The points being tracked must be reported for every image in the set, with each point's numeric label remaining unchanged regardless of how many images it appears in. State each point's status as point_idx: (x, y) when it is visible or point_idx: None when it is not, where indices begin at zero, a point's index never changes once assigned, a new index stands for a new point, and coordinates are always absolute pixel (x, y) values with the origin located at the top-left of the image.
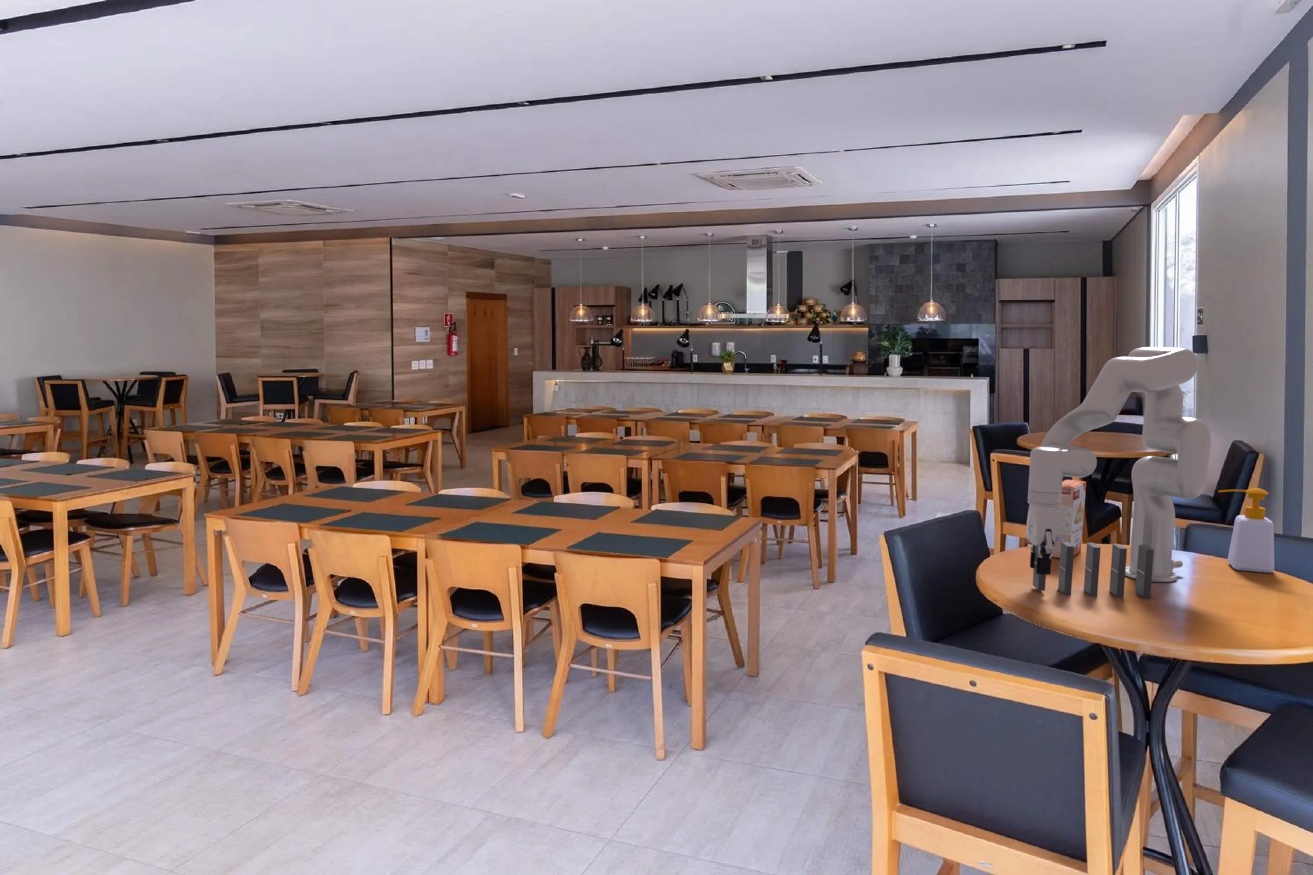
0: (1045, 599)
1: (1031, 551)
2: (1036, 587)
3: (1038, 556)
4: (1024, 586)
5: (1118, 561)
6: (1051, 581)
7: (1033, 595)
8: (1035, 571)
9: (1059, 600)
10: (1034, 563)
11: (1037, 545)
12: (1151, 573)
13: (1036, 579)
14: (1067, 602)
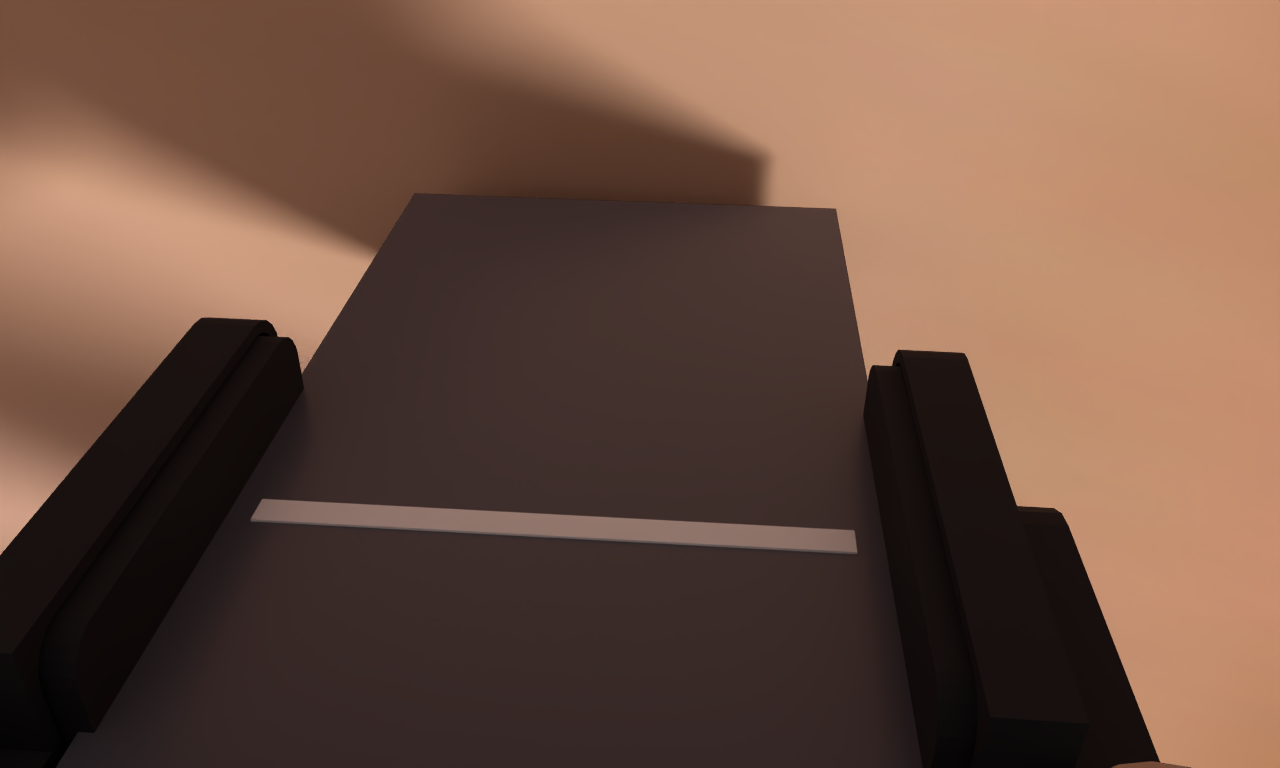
0: (50, 185)
1: (1152, 763)
2: (533, 207)
3: (304, 747)
4: (927, 49)
5: None
6: (1262, 604)
7: (250, 40)
8: (665, 376)
9: (90, 384)
10: (826, 503)
11: None
12: None
13: (545, 283)
14: (26, 458)
